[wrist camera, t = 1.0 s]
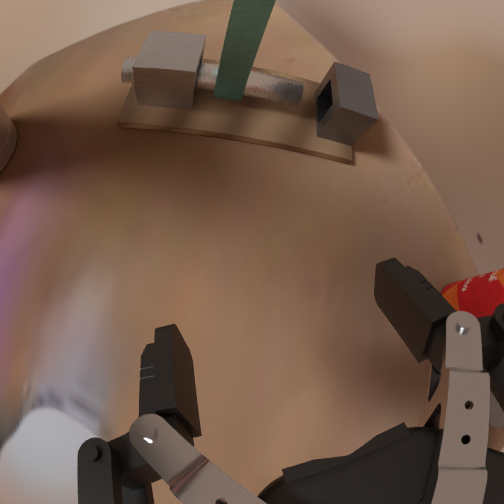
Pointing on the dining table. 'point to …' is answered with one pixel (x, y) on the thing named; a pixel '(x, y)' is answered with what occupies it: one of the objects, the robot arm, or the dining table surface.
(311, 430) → the dining table surface
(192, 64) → the sleeve and socket
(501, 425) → the coffee pot
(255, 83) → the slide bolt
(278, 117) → the walnut board
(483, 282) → the paper cup
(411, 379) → the dining table surface
